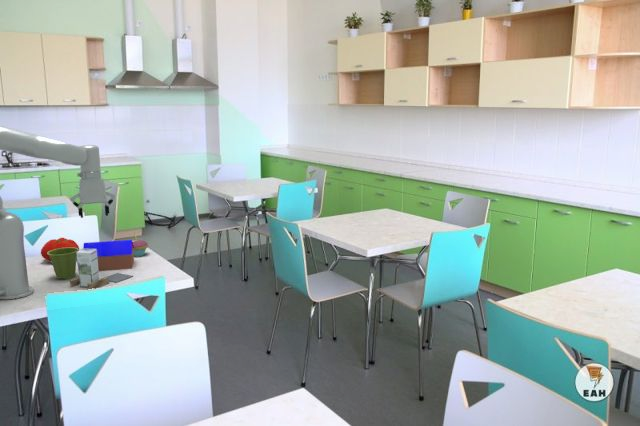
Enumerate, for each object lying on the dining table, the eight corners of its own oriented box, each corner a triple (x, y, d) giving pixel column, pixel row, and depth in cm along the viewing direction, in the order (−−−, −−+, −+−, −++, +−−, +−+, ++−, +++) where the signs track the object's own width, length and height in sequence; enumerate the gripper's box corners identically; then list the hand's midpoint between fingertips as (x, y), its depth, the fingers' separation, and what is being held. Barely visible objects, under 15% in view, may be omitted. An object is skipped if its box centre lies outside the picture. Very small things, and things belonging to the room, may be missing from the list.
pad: (116, 282, 221) (116, 281, 221) (100, 279, 225) (100, 278, 225) (133, 276, 229) (132, 275, 229) (117, 273, 233) (117, 272, 233)
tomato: (71, 264, 246) (69, 243, 244) (35, 265, 247) (33, 243, 245) (85, 256, 260) (83, 235, 258) (51, 256, 261) (49, 236, 259)
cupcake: (126, 256, 259) (124, 232, 256) (137, 252, 267) (135, 228, 264) (141, 258, 256) (140, 233, 254) (152, 253, 264) (150, 229, 262)
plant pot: (65, 271, 237) (63, 246, 234) (87, 274, 232) (84, 248, 230) (43, 279, 226) (40, 253, 224) (65, 282, 222) (62, 255, 219)
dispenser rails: (89, 290, 212) (88, 284, 211) (70, 286, 217) (70, 280, 216) (109, 283, 220) (108, 277, 220) (90, 279, 225) (89, 273, 225)
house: (88, 264, 247) (86, 239, 245) (135, 261, 252) (133, 236, 249) (83, 272, 236) (81, 246, 233) (132, 268, 240) (130, 243, 238)
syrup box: (100, 282, 221) (97, 248, 218) (93, 287, 215) (89, 252, 212) (86, 282, 222) (83, 247, 219) (79, 287, 216) (75, 251, 213)
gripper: (68, 177, 217) (72, 220, 221) (114, 175, 225) (117, 216, 228) (67, 175, 224) (71, 216, 227) (112, 173, 232) (115, 213, 235)
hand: (94, 216), depth 228 cm, fingers open, 9 cm apart
